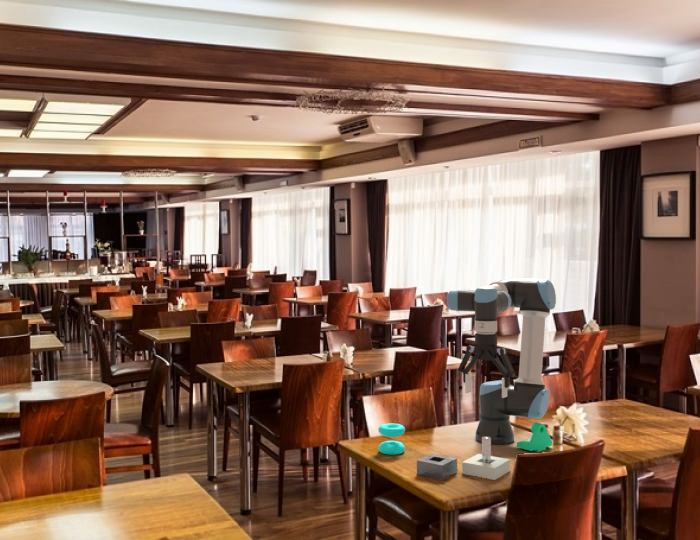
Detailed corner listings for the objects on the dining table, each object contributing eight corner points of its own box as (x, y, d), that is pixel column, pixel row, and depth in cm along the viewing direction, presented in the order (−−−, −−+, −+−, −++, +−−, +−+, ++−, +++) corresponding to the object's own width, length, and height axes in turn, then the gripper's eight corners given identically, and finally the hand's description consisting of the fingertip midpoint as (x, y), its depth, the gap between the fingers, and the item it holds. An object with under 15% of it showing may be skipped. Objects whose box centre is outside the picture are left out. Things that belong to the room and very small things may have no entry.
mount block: (431, 467, 261) (431, 453, 261) (457, 472, 256) (457, 458, 255) (416, 474, 253) (416, 460, 253) (442, 480, 247) (442, 465, 247)
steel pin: (484, 470, 258) (484, 436, 257) (492, 472, 256) (492, 437, 255) (480, 472, 255) (480, 438, 255) (488, 474, 253) (488, 439, 253)
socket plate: (478, 464, 264) (478, 453, 264) (510, 470, 257) (510, 459, 257) (462, 473, 254) (462, 462, 254) (494, 480, 247) (494, 468, 247)
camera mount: (536, 444, 291) (536, 417, 290) (552, 448, 285) (552, 421, 284) (515, 449, 284) (515, 422, 283) (531, 453, 278) (531, 426, 277)
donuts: (384, 430, 274) (374, 423, 284) (384, 457, 275) (374, 449, 284) (409, 427, 277) (399, 421, 287) (409, 454, 278) (399, 447, 287)
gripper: (448, 331, 258) (448, 392, 259) (515, 336, 243) (515, 401, 244) (458, 329, 264) (458, 388, 265) (525, 334, 249) (525, 397, 250)
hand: (486, 394), depth 255 cm, fingers open, 13 cm apart
